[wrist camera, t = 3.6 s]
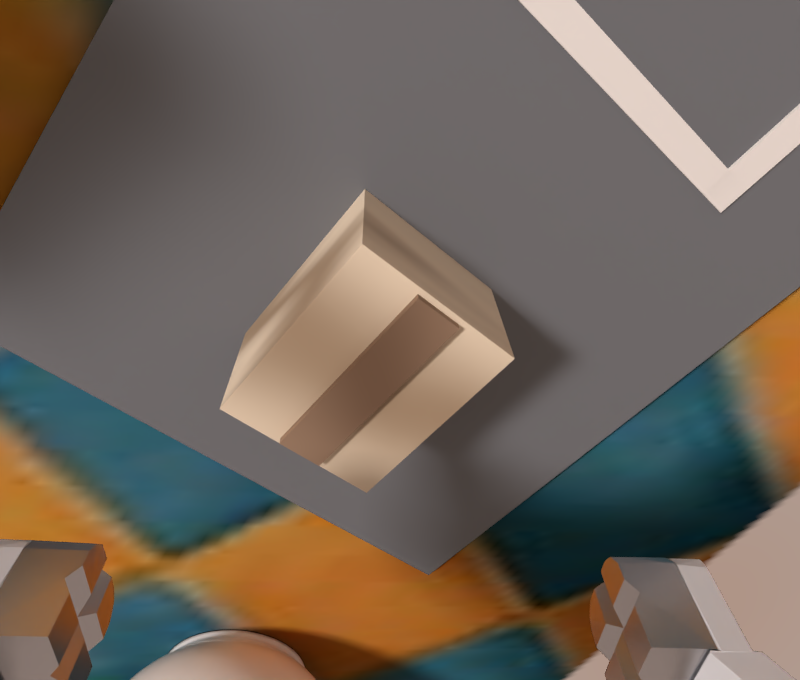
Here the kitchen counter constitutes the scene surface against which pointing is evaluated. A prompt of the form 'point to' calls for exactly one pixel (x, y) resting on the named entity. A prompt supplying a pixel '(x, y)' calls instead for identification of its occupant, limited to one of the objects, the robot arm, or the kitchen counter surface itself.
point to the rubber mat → (413, 215)
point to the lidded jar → (228, 659)
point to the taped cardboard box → (367, 348)
